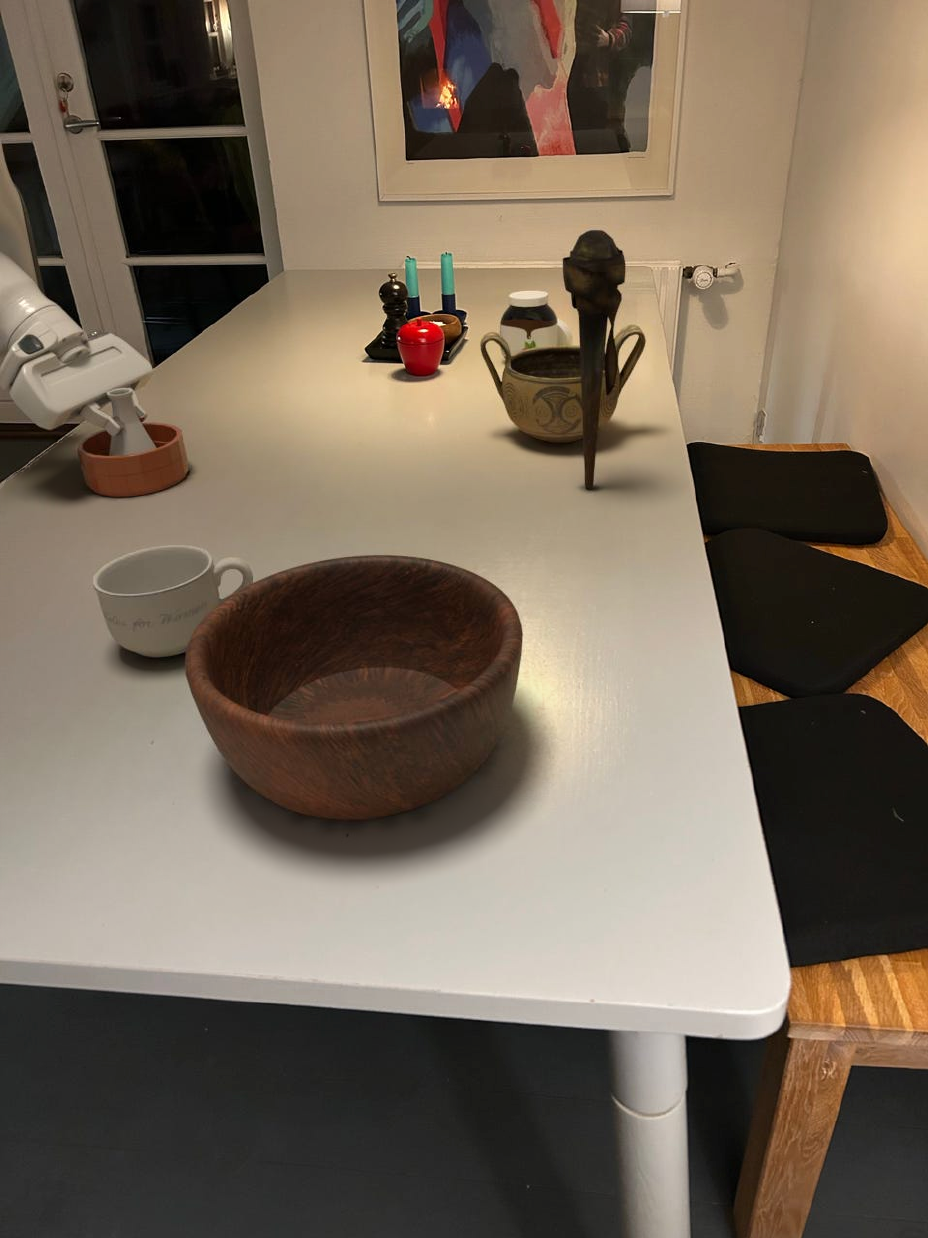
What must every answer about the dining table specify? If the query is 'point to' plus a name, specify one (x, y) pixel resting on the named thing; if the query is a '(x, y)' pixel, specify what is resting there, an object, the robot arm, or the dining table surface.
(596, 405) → the decorative torch
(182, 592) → the teacup
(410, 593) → the wooden bowl
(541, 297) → the spread jar
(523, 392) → the ceramic bowl
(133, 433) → the flask
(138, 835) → the dining table surface
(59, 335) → the robot arm
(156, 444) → the terracotta bowl
